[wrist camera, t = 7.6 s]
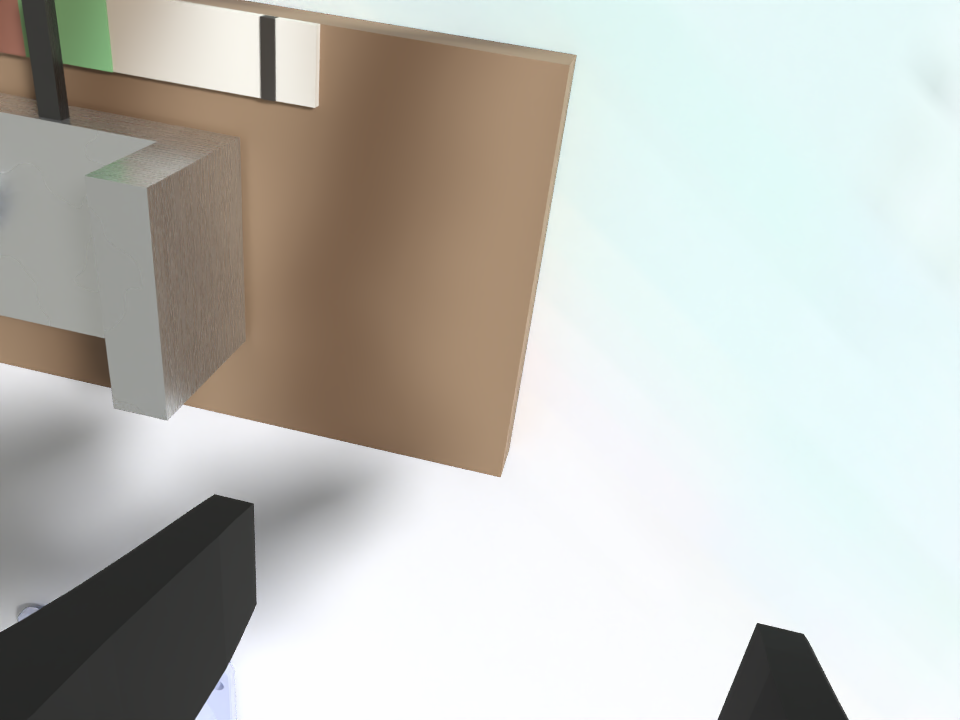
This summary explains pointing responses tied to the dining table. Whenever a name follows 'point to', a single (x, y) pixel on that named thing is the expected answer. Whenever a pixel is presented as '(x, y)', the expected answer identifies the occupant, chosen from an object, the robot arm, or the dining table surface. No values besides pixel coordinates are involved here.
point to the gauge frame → (340, 209)
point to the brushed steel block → (120, 233)
